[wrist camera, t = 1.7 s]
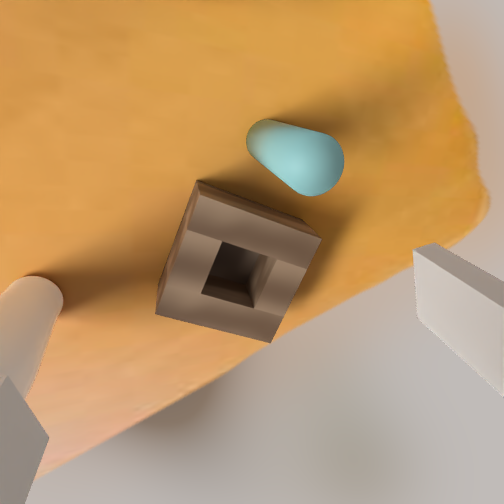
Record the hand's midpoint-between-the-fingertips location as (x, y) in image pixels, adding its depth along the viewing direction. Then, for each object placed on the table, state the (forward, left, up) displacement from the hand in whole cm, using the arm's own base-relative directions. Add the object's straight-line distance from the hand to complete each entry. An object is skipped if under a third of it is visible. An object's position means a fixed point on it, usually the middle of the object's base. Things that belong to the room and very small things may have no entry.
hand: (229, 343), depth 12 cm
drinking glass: (+17, -11, -27) cm, 34 cm away
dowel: (-6, +5, -27) cm, 28 cm away
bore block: (+6, +6, -27) cm, 29 cm away
